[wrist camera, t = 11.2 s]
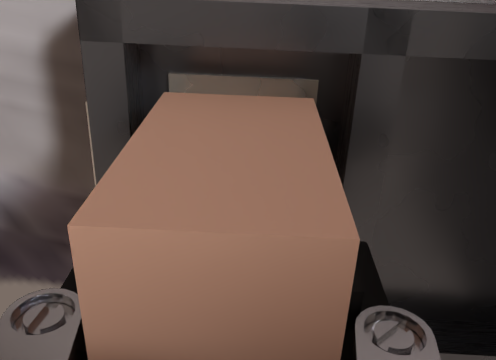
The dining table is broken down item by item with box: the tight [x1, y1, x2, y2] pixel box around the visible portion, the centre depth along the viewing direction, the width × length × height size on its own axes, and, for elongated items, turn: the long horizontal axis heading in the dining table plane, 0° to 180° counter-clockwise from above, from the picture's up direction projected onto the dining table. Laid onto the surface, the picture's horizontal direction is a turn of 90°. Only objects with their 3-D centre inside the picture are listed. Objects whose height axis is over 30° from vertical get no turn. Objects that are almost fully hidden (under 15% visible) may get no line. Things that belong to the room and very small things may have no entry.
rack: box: [75, 0, 496, 360], centre depth 10 cm, size 11×14×12 cm
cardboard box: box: [67, 92, 360, 360], centre depth 10 cm, size 7×4×6 cm, turn 178°
